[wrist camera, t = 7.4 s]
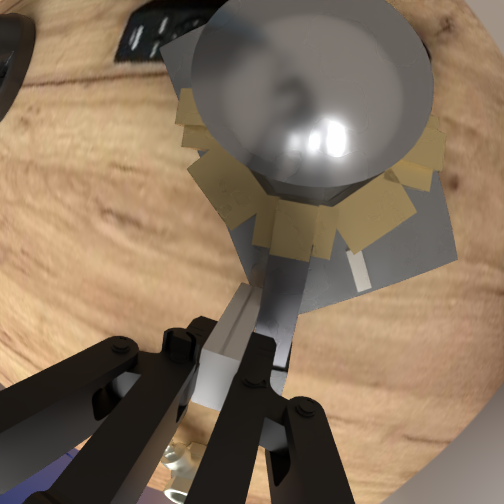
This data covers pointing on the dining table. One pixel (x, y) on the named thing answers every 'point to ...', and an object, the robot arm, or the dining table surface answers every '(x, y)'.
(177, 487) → the valve
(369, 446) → the dining table surface
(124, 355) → the robot arm
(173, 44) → the plate
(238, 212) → the grey bar gold ring
